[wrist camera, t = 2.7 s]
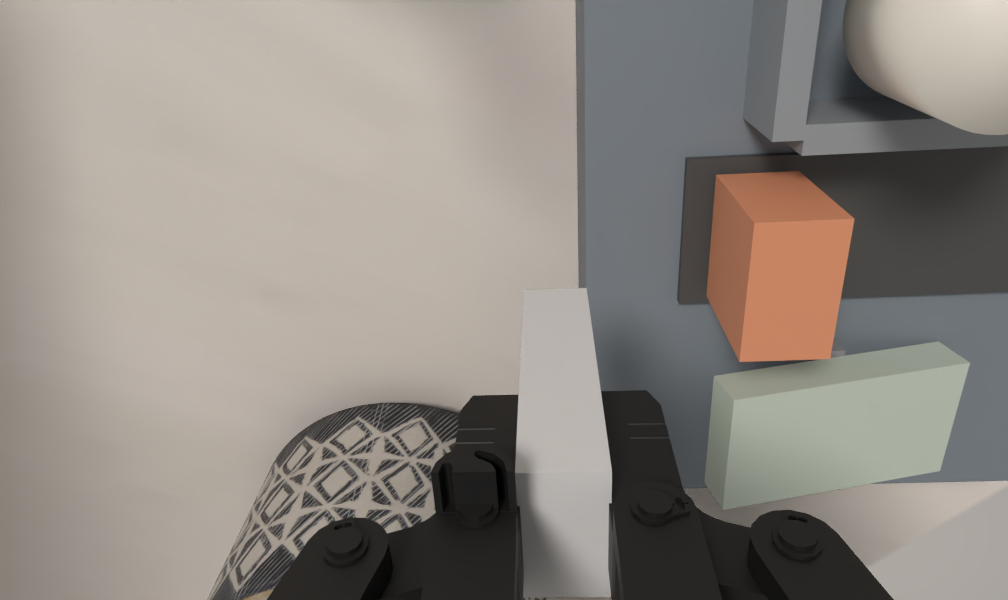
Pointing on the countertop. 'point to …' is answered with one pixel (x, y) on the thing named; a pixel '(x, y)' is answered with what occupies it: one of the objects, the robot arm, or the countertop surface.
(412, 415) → the planter
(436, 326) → the countertop surface
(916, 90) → the button ivory
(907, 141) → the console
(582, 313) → the robot arm
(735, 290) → the slider knob
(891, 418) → the block
